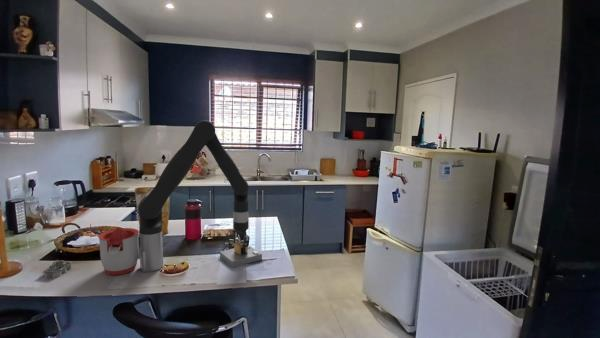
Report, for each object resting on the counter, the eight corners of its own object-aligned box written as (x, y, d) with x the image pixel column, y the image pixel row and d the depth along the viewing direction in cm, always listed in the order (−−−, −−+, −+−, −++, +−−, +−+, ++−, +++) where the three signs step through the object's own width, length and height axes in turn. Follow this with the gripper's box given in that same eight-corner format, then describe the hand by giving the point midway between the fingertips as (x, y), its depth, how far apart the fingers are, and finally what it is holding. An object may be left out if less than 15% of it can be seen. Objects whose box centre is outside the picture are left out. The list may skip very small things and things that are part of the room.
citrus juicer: (94, 281, 133) (91, 235, 130) (106, 263, 149) (104, 222, 146) (135, 277, 137) (133, 233, 134) (143, 260, 154) (141, 220, 151)
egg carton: (58, 267, 145) (58, 258, 145) (75, 267, 145) (74, 259, 145) (39, 278, 135) (39, 269, 134) (57, 278, 135) (57, 269, 134)
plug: (238, 258, 156) (238, 244, 155) (234, 255, 160) (234, 241, 159) (247, 255, 159) (247, 242, 158) (243, 252, 163) (243, 239, 162)
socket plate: (232, 267, 149) (232, 260, 149) (219, 257, 160) (219, 250, 160) (261, 259, 159) (261, 252, 159) (248, 250, 170) (248, 243, 169)
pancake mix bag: (138, 232, 192) (136, 186, 188) (171, 230, 197) (170, 186, 193) (135, 236, 186) (132, 188, 182) (169, 234, 190) (168, 188, 186)
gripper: (227, 217, 160) (227, 249, 162) (240, 224, 149) (240, 259, 151) (240, 214, 165) (240, 246, 167) (254, 222, 153) (254, 255, 156)
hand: (240, 252), depth 159 cm, fingers closed on plug, 4 cm apart
